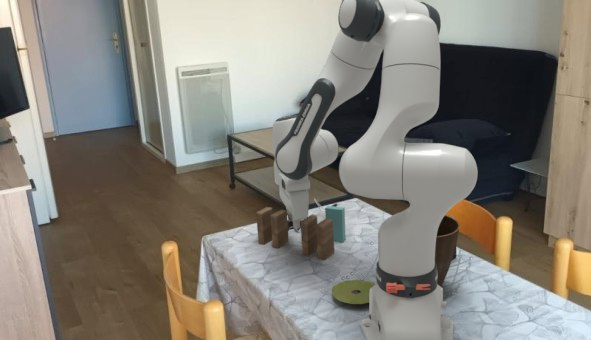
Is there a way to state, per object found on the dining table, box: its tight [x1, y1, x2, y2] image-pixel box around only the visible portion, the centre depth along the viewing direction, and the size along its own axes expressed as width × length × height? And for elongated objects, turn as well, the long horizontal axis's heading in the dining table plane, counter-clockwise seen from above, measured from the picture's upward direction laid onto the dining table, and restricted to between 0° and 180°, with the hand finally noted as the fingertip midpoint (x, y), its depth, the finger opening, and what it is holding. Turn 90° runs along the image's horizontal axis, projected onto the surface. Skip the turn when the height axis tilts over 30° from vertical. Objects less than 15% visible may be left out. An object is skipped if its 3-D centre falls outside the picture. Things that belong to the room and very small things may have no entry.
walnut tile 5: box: [316, 218, 335, 261], centre depth 151 cm, size 2×5×10 cm, turn 145°
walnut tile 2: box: [270, 209, 290, 249], centre depth 160 cm, size 2×5×10 cm, turn 145°
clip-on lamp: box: [287, 198, 341, 234], centre depth 174 cm, size 12×6×18 cm
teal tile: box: [324, 205, 347, 244], centre depth 161 cm, size 2×5×10 cm, turn 64°
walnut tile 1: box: [255, 206, 274, 246], centre depth 163 cm, size 2×5×10 cm, turn 146°
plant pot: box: [435, 214, 460, 287], centre depth 132 cm, size 15×15×16 cm
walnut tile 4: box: [300, 214, 318, 257], centre depth 154 cm, size 2×5×10 cm, turn 146°
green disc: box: [331, 279, 376, 305], centre depth 130 cm, size 11×11×2 cm
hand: (294, 224), depth 156 cm, fingers open, 4 cm apart
